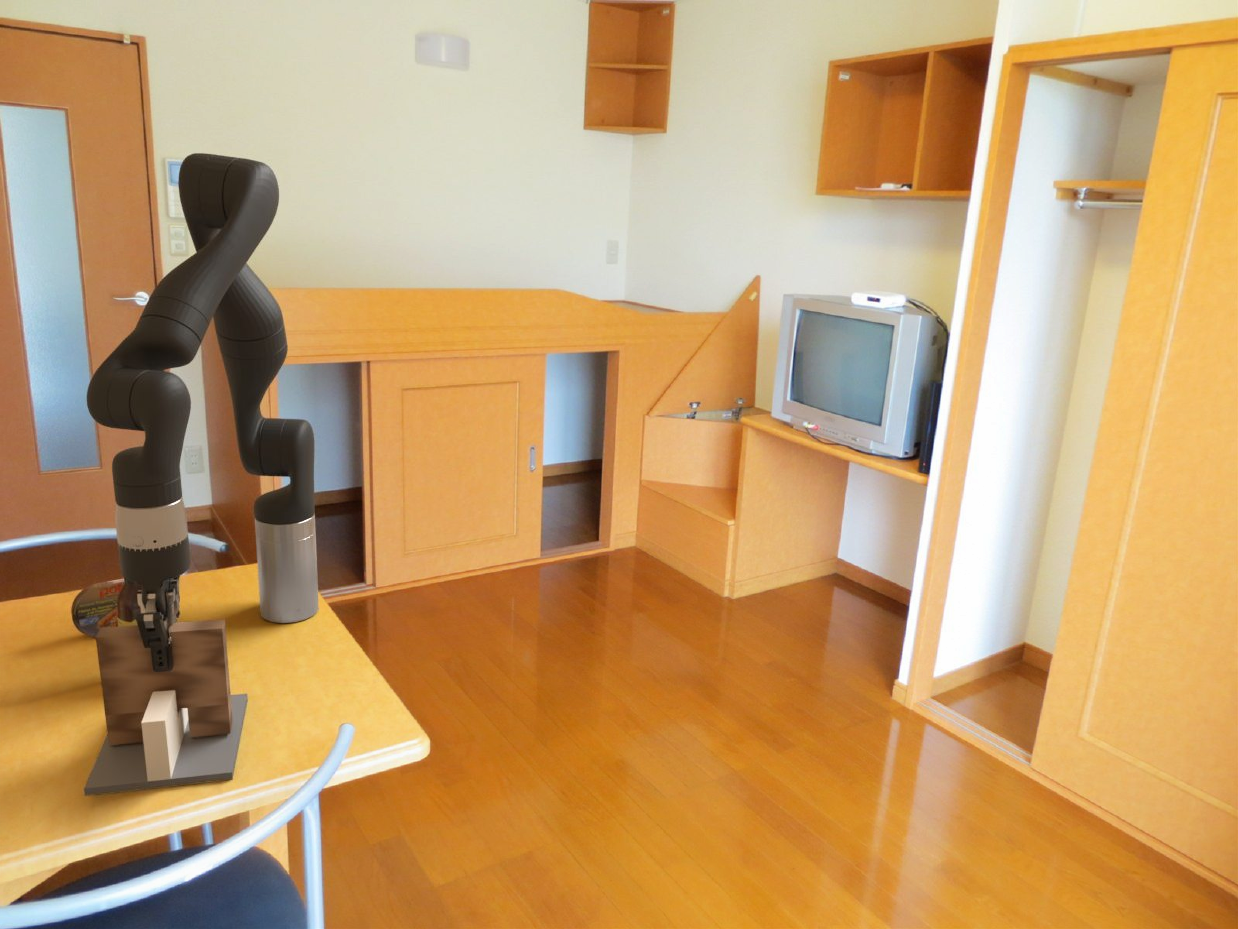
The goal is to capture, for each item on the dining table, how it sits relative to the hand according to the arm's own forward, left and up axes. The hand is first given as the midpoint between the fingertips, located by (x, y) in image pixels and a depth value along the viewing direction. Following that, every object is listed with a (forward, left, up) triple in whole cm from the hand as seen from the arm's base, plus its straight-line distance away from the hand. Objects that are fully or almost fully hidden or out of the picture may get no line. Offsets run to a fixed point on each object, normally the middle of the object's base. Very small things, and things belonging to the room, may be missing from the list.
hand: (165, 663), depth 113 cm
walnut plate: (0, 0, -10) cm, 10 cm away
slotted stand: (0, 0, -11) cm, 11 cm away
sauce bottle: (-17, -6, -12) cm, 21 cm away
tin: (-34, -12, -12) cm, 38 cm away
